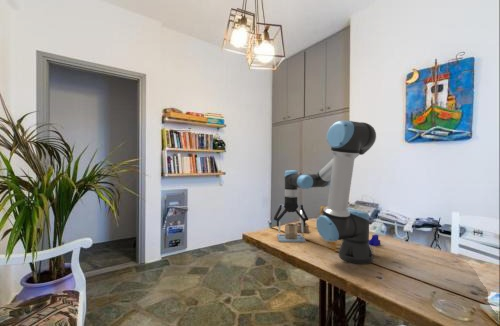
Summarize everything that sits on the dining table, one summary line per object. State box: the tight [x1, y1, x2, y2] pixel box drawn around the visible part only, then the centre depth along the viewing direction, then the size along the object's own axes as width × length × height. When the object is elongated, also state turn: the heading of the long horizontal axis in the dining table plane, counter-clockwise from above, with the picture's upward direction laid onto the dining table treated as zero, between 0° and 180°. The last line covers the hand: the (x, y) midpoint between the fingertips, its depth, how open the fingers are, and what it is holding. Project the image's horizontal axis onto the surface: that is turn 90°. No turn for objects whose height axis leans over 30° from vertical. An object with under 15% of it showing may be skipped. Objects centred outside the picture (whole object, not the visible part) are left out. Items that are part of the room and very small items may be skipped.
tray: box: [276, 233, 307, 243], centre depth 142 cm, size 11×15×1 cm
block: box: [284, 223, 298, 240], centre depth 142 cm, size 6×6×8 cm
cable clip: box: [369, 234, 381, 247], centre depth 137 cm, size 12×4×6 cm, turn 26°
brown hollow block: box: [295, 222, 310, 234], centre depth 157 cm, size 7×7×5 cm
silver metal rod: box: [298, 209, 305, 225], centre depth 157 cm, size 3×3×14 cm
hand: (290, 232), depth 142 cm, fingers open, 13 cm apart
